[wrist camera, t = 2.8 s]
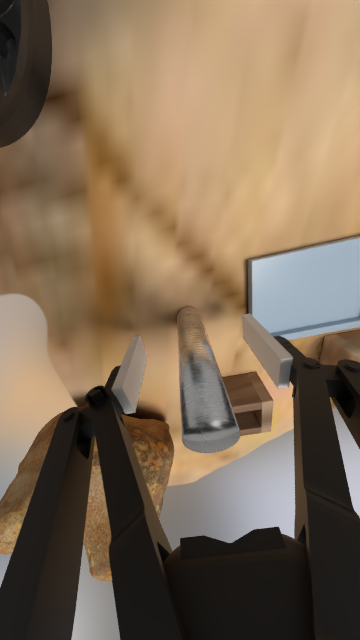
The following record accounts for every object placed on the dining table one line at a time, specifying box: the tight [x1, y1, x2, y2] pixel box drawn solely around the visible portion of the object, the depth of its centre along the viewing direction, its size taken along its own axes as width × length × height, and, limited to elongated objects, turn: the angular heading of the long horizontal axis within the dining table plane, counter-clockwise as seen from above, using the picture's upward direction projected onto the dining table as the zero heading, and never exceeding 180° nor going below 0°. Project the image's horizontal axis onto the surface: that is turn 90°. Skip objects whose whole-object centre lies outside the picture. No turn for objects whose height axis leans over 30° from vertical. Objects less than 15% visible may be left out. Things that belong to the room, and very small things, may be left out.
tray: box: [247, 235, 360, 340], centre depth 20 cm, size 11×15×1 cm
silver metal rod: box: [177, 307, 240, 453], centre depth 15 cm, size 3×3×14 cm
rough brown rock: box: [0, 404, 174, 581], centre depth 24 cm, size 23×17×15 cm
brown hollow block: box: [222, 372, 273, 436], centre depth 25 cm, size 7×7×5 cm
